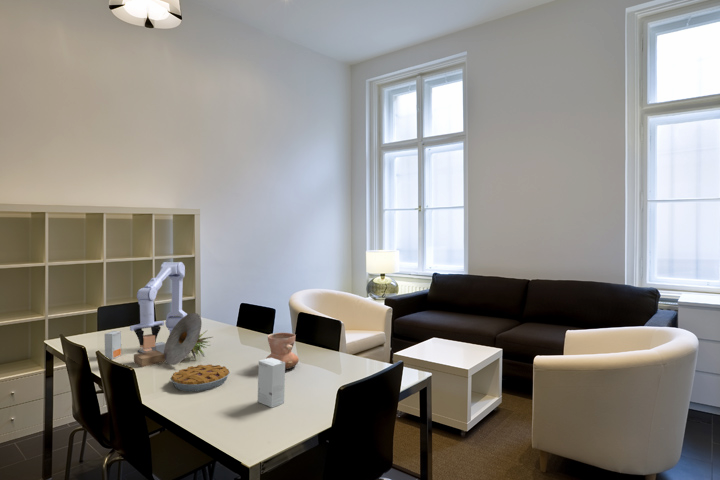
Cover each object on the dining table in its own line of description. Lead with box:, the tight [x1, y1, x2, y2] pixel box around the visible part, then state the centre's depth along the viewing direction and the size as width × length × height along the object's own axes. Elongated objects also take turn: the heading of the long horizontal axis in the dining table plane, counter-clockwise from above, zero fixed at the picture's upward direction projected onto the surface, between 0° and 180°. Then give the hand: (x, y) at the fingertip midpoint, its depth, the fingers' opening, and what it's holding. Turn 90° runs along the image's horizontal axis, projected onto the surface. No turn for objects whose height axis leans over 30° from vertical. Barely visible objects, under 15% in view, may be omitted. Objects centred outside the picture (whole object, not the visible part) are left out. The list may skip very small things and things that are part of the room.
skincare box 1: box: [104, 330, 122, 360], centre depth 212 cm, size 6×4×12 cm
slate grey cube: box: [152, 341, 166, 354], centre depth 218 cm, size 5×5×5 cm
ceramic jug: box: [265, 332, 300, 371], centre depth 195 cm, size 18×14×14 cm
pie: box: [170, 364, 231, 392], centre depth 177 cm, size 22×22×5 cm
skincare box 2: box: [257, 357, 286, 408], centre depth 156 cm, size 8×6×15 cm
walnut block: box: [133, 350, 166, 368], centre depth 204 cm, size 10×10×4 cm
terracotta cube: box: [139, 333, 155, 349], centre depth 205 cm, size 5×5×5 cm
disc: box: [164, 312, 213, 366], centre depth 209 cm, size 25×18×25 cm
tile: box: [137, 347, 152, 353], centre depth 222 cm, size 7×7×1 cm
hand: (147, 343), depth 205 cm, fingers closed on terracotta cube, 5 cm apart
